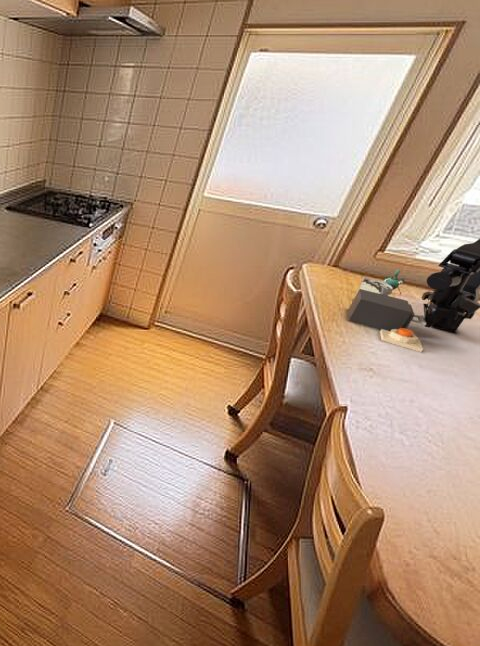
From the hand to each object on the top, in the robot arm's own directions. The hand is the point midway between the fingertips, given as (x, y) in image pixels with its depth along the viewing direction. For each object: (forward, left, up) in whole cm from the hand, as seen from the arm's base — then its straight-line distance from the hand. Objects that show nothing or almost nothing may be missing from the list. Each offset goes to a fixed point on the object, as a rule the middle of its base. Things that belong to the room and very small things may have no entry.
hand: (427, 327), depth 145 cm
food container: (+14, -17, -4) cm, 22 cm away
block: (+7, +12, -4) cm, 14 cm away
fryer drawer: (+10, 0, -3) cm, 10 cm away
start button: (+7, +12, -1) cm, 14 cm away
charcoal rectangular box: (+14, 0, -4) cm, 14 cm away
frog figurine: (+10, -30, -4) cm, 32 cm away
